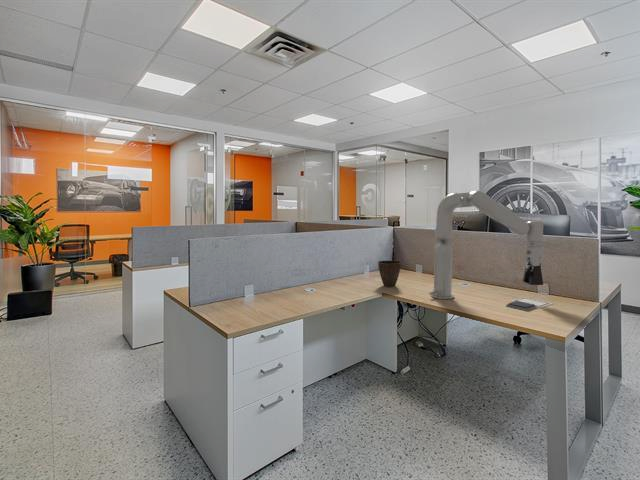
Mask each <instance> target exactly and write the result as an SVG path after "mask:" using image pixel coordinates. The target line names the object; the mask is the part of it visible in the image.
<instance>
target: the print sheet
mask: <svg viewBox="0 0 640 480" xmlns="http://www.w3.org/2000/svg"><path fill="white" fill-rule="evenodd" d="M515 301H521V302H525V303H530V304H535V305H536V306H537V309H538V308H539V309H543V308H545V307H548V306H551V305H553V303H552V302H548V301H542V300H537V299H533V298H532V299H531V298H527V297H519V298H517V299H512V300H510V303H511V302H515Z"/></svg>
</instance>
